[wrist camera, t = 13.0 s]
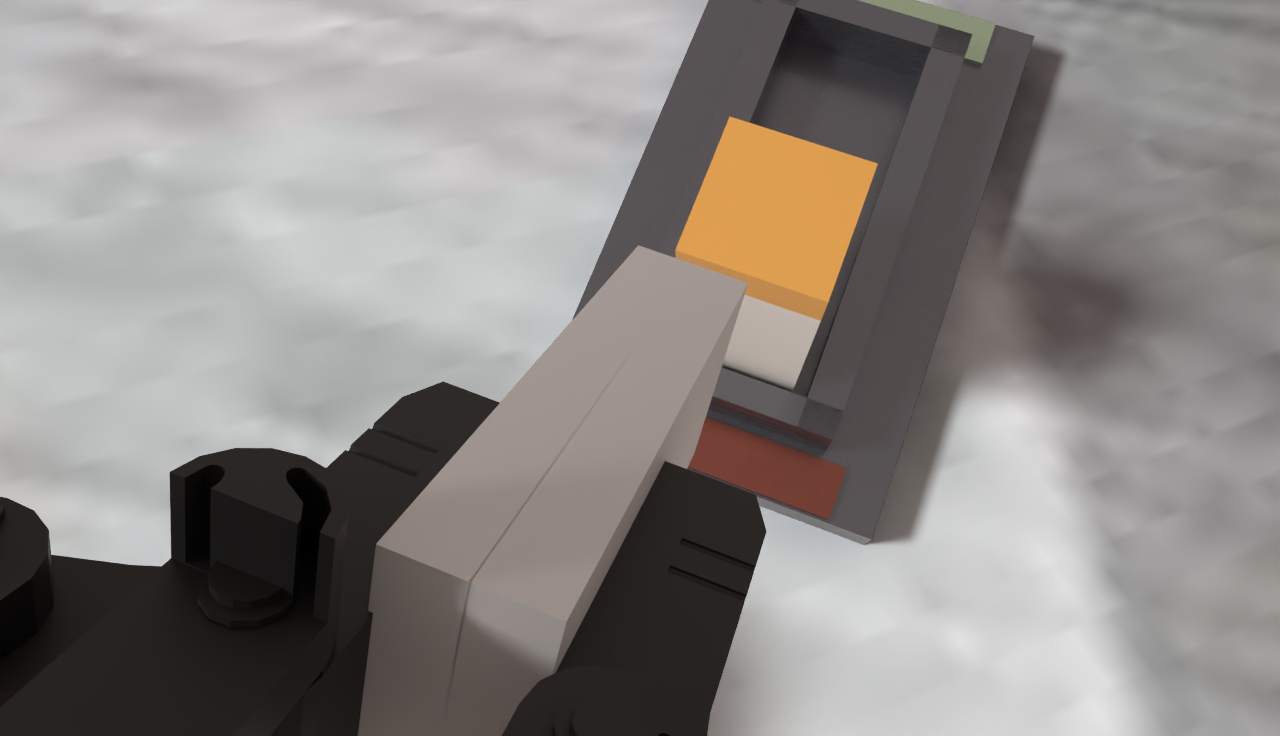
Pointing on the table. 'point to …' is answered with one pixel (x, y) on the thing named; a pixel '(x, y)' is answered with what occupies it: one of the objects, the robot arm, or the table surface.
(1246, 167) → the table surface
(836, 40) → the dark gray tray
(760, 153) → the toggle
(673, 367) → the robot arm
